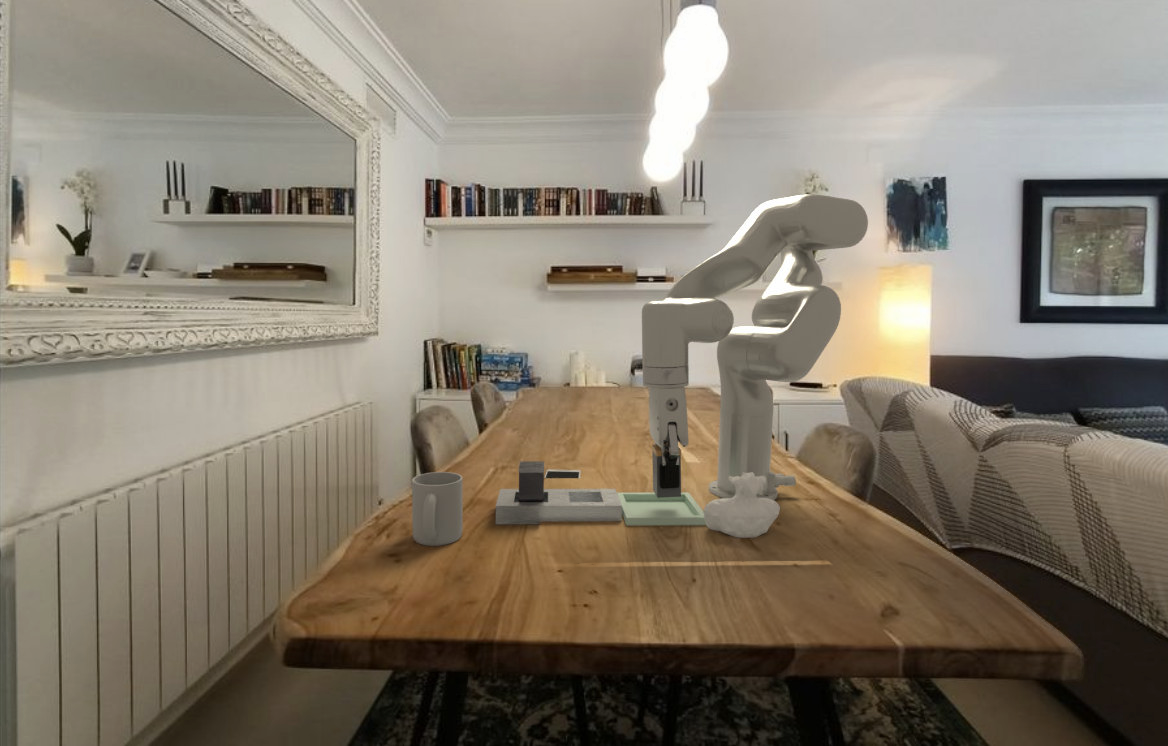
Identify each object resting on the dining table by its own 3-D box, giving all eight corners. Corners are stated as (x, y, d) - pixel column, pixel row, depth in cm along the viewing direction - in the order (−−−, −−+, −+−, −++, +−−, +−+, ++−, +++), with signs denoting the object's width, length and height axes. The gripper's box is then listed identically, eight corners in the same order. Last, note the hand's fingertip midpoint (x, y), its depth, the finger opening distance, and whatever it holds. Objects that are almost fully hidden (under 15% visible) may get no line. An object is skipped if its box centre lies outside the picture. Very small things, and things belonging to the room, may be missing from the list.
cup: (466, 528, 91) (466, 472, 91) (454, 554, 82) (453, 491, 81) (419, 528, 91) (419, 471, 90) (401, 554, 81) (400, 491, 80)
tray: (688, 501, 106) (688, 492, 106) (707, 527, 94) (708, 517, 93) (616, 501, 106) (616, 492, 105) (626, 528, 93) (626, 517, 92)
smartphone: (539, 495, 110) (539, 490, 110) (547, 473, 125) (547, 468, 125) (577, 496, 110) (578, 491, 110) (580, 474, 125) (580, 469, 125)
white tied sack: (703, 550, 90) (721, 508, 82) (693, 507, 96) (709, 465, 88) (779, 548, 91) (803, 507, 84) (765, 506, 97) (786, 464, 89)
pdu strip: (614, 505, 104) (616, 458, 103) (621, 523, 95) (622, 471, 94) (500, 505, 102) (500, 457, 101) (495, 524, 93) (495, 471, 92)
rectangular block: (676, 488, 102) (675, 443, 101) (681, 496, 98) (681, 449, 97) (652, 489, 102) (651, 444, 101) (657, 497, 98) (656, 451, 97)
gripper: (701, 382, 89) (701, 499, 92) (676, 368, 106) (677, 467, 108) (651, 384, 89) (653, 501, 91) (635, 370, 105) (637, 469, 108)
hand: (666, 482), depth 100 cm, fingers closed on rectangular block, 4 cm apart
